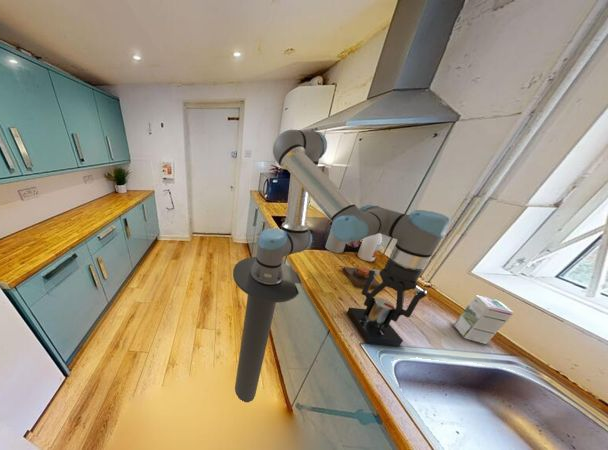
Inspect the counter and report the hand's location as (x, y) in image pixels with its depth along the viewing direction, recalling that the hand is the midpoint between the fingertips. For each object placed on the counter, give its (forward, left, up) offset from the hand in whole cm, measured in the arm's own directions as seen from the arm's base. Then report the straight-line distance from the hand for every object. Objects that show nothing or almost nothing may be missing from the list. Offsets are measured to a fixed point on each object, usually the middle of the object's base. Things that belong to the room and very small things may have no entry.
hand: (375, 319), depth 67 cm
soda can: (-62, +26, -5) cm, 67 cm away
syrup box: (-2, +33, -5) cm, 33 cm away
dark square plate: (-28, +12, -5) cm, 31 cm away
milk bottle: (-48, +26, -5) cm, 55 cm away
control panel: (0, 0, -5) cm, 5 cm away
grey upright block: (0, 0, -2) cm, 2 cm away
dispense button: (-28, +12, -1) cm, 30 cm away
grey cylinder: (-56, +13, -5) cm, 58 cm away
